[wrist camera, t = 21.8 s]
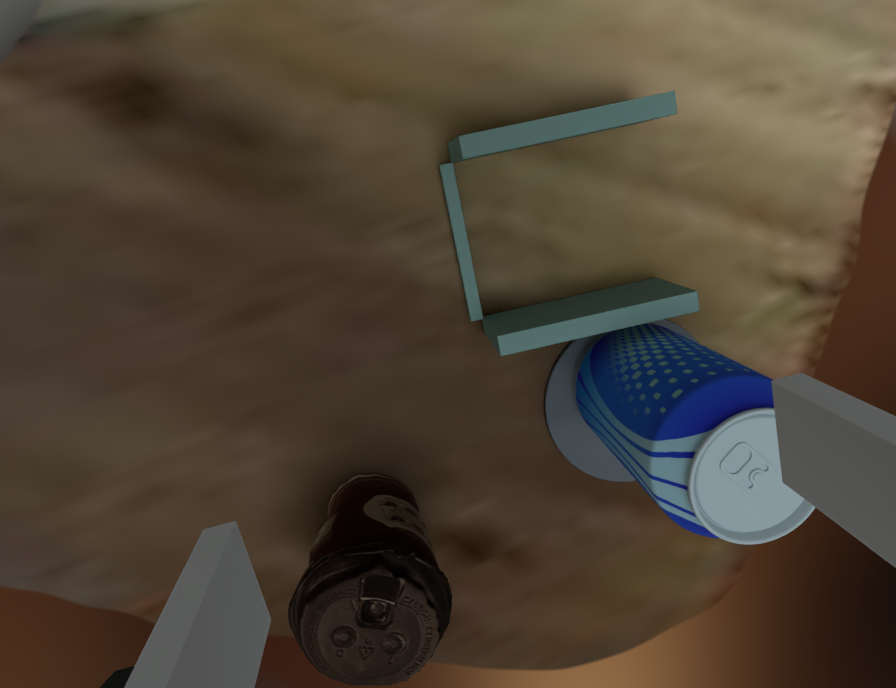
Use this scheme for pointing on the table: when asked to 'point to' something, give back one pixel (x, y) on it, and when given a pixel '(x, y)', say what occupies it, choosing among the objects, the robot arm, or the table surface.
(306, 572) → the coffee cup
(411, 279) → the table surface
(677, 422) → the beer can
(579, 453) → the flat grey disc
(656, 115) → the rack
